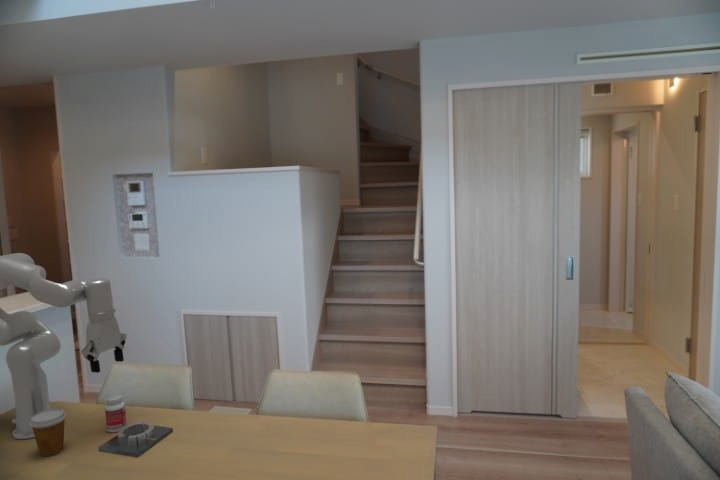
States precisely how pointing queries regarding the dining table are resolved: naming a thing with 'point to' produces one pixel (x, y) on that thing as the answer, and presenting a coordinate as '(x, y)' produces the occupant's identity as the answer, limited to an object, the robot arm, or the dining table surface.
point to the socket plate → (137, 448)
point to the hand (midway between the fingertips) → (108, 366)
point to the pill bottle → (115, 413)
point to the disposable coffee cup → (49, 431)
